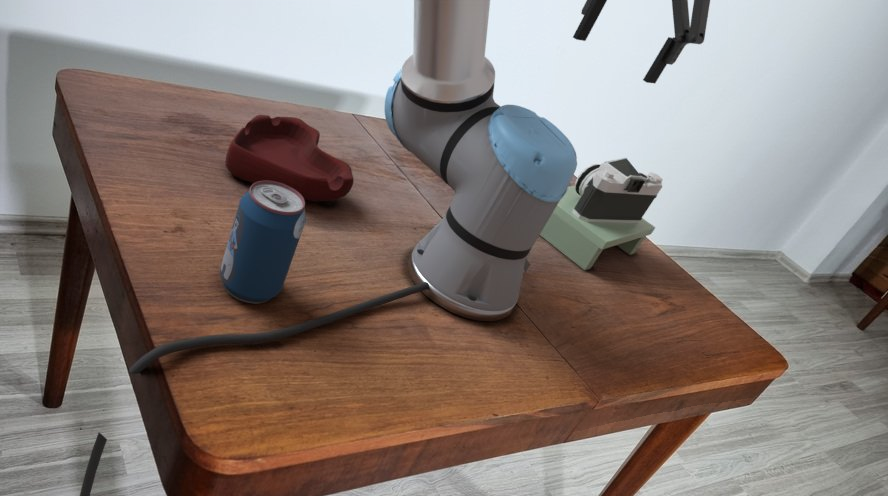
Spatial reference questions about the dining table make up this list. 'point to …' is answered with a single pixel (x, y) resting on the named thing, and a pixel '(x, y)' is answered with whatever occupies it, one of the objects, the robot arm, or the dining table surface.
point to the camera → (615, 192)
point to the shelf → (589, 233)
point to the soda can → (262, 241)
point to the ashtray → (288, 159)
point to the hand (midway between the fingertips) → (612, 60)
